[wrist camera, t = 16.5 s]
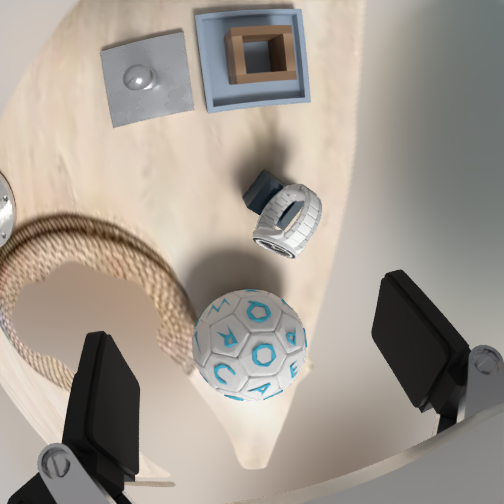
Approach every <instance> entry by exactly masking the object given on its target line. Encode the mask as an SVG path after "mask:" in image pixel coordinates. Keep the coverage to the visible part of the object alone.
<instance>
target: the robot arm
mask: <svg viewBox="0 0 504 504" xmlns="http://www.w3.org/2000/svg"><path fill="white" fill-rule="evenodd" d="M15 222H16V207H15V201H14V197H13V194H12V191H11V189H10V187H9V185H8V183H7V181H6V180H5V178H4V177H3V176H2V175H1V174H0V247H1V246H2V245H3V244H5V243H6V242H7V240H8V239H9V238H10V236H11V234H12V233H13V230H14V227H15ZM371 333H372V338H373V340H374V342H375V343H376V345H377V347H378V348H379V350H380V351H381V353H382V354H383V356H384V358H385V359H386V361H387V363H388V364H389V366H390V368H391V369H392V371H393V373H394V374H395V376H396V377H397V379H398V381H399V382H400V384H401V386H402V387H403V389H404V391H405V392H406V394H407V395H408V397H409V399H410V401H411V402H412V404H413V406H414V407H417V408H419V409H420V411H421V413H423V412H425V411H427V410H429V409H431V408H434V409H435V411H436V419H435V423H434V428H433V433H432V437H431V438H429V439H427V440H425V441H423V442H421V443H419V444H417V445H416V446H413V447H411V448H409V449H407V450H405V451H403V452H401V453H398V454H396V455H394V456H392V457H389V458H387V459H385V460H383V461H380V462H378V463H375V464H373V465H371V466H368V467H365V468H363V469H360V470H357V471H354V472H352V473H349V474H346V475H343V476H340V477H337V478H334V479H331V480H328V481H325V482H322V483H318V484H315V485H312V486H308V487H304V488H301V489H297V490H293V491H289V492H285V493H281V494H276V495H272V496H267V497H262V498H257V499H252V500H247V501H240V502H234V503H227V504H504V361H503V358H502V356H501V354H500V353H499V352H498V351H497V350H496V349H494V348H493V347H490V346H487V345H479V346H476V347H475V348H473V349H472V350H470V349H469V345H468V344H467V342H466V341H465V340H464V339H463V337H462V336H461V335H460V334H459V333H458V331H457V330H456V329H455V328H454V327H453V326H452V324H451V323H450V322H449V321H448V320H447V318H446V317H445V316H444V315H443V314H442V313H441V312H440V310H439V309H438V308H437V307H436V306H435V305H434V304H433V302H432V301H431V300H430V299H429V298H428V297H427V296H426V295H425V294H424V292H423V291H422V290H421V289H420V288H419V287H418V286H417V285H416V284H415V283H414V282H413V281H412V280H411V278H409V276H408V275H407V274H406V273H405V272H404V271H403V270H396V271H392V272H389V273H386V274H385V277H384V278H383V279H382V280H381V285H380V290H379V296H378V302H377V307H376V312H375V317H374V322H373V326H372V332H371ZM139 403H140V387H139V383H138V381H137V379H136V378H135V376H134V374H133V373H132V371H131V370H130V368H129V366H128V365H127V363H126V361H125V359H124V358H123V356H122V354H121V352H120V351H119V349H118V347H117V346H116V344H115V342H114V340H113V338H112V337H111V335H107V334H106V333H105V332H104V331H98V332H92V333H88V334H87V335H86V338H85V342H84V346H83V350H82V354H81V358H80V362H79V367H78V371H77V373H76V374H75V376H74V378H73V382H72V387H71V392H70V397H69V402H68V407H67V413H66V418H65V424H64V431H63V437H62V444H61V443H53V444H50V445H48V446H46V447H45V448H44V449H43V450H42V451H41V453H40V455H39V457H38V470H39V472H38V473H37V474H36V475H35V476H34V477H33V478H32V479H30V480H29V481H28V482H27V483H26V484H25V485H23V486H22V487H21V488H20V489H19V490H18V491H16V492H15V493H14V494H13V495H12V496H11V497H10V498H9V500H8V503H7V504H136V503H135V502H134V501H133V500H132V499H131V498H130V497H129V496H128V495H127V494H126V492H125V491H124V482H135V475H137V474H138V473H139Z"/></svg>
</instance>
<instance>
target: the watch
mask: <svg viewBox="0 0 504 504" xmlns="http://www.w3.org/2000/svg"><path fill="white" fill-rule="evenodd" d="M243 200H244V202H245V204H246V206H247V208H248V209H250V210H252V211H253V212H255V213H257V214H258V215H260V217H259V219H258V221H257V225H256V230H254V232H253V237H252V239H253V240H254V241H255V242H256V243H257V244H258V245H260V246H261V247H263V248H265V249H267V250H269V251H271V252H273V253H276V254H278V255H281V256H284V257H287V258H296V257H297V256H298V255H299V253H300V252H301V251H302V250H303V249H305V247H306V243H307V242H308V241H309V240H310V239H311V237H312V236H313V234H314V233H315V231H316V229H317V227H318V224H319V222H320V219H321V213H322V204H321V200H320V199H319V198H318V197H317V195H316V194H315V193H314V192H313V191H312V190H310V189H309V188H307V187H306V186H304V185H302V184H291V185H285V184H284V183H282V182H281V181H279V180H278V179H277V178H275V177H274V176H272V175H271V174H269V173H268V172H267V171H265V170H263V171H262V173H261V174H260V175H259V176H258V178H257V179H256V180H255V182H254V183H253V185H252V186H251V187H250V189H249V190H248V191H247V193H246V194H245V195H244V197H243ZM304 200H305V201H304ZM301 208H302V210H301V213H300V214H299V216H298V218H297V219H296V221H297V222H294V224H293V225H292V226H291V228H290V229H289V230H288V231H287V232H286V233H285V231H283V230H284V229H285V228H286V227H287V226H288V224H289V223H290V222H291V221H292V219H293V218H294V217H295V216H296V214H297V213H298V212H299V211H300V209H301ZM303 222H304V223H303ZM275 226H277V227H279V228H281V229H282V230H276V229H275ZM310 227H311V228H310ZM311 231H312V232H311Z"/></svg>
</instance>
